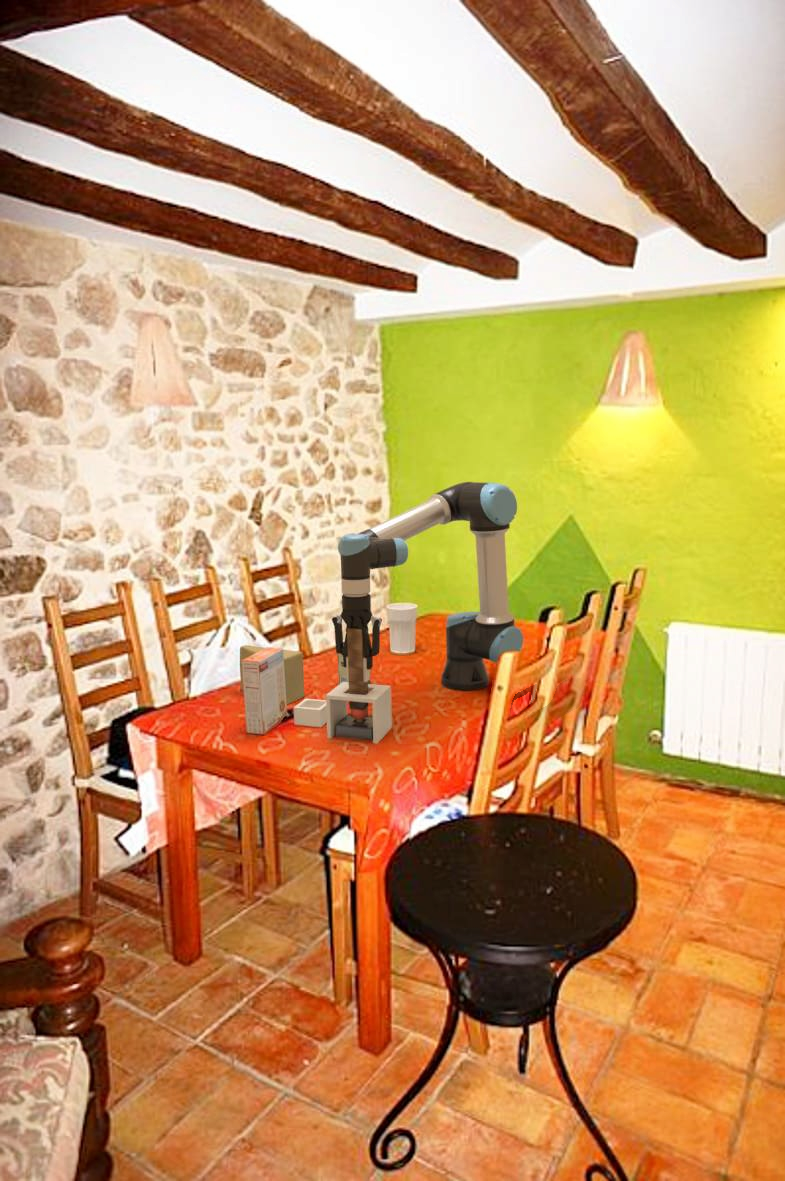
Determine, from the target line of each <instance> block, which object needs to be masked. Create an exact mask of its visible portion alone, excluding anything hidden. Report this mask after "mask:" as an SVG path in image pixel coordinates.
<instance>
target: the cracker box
mask: <svg viewBox="0 0 785 1181" xmlns="http://www.w3.org/2000/svg"><path fill="white" fill-rule="evenodd" d="M263 648H264V649H262V650H260V651H258V652H257V653H255V654H253V655H251V656H249V657H247V658H245V659H244V660H242V661H241V663H242V676H243V689H244V691H243V698H244V699H243V700H244V701H243V702H244V715H245V716H244V717H245V729H246V734H251V735H252V734H253V735H261V736H265V735H267V733H269V732H271V731H272V730H273V729H274V728H276V727H277V726H278V725H280V724H281V723H282V722H283V721H282V720H283V718H284V717H285V716H286V715H287V716H288V707H287V705H288V704H286V688H285V671H284V655H283V650H284V648H281V647H270V646H267V647H263ZM281 721H282V722H281Z"/></svg>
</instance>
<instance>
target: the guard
mask: <svg viewBox="0 0 785 1181" xmlns="http://www.w3.org/2000/svg"><path fill="white" fill-rule="evenodd" d="M325 700H326V712H327V722H326V734H327V739H332V738H334V737H335V735H337V734H336V724H337V723H338V722H340V721H341V720H342V719H343V718H344V717H345V716H346V715H347V714H348V702H349V701H356V702H367V703H369V704H372V716H373V740H372V743H373V744H377V745H378V743H379V742H380V741H381V740H382V739H383V738H384V737H385V736H386V734H388V733H389V732H390V730H391V729H392V723H393V721H392V720H393V719H392V685H385V684H384V685H383V684H373V683H370V684H368V694H367V695H359V694H349V682H342V683H341V684H339V683H338V685H337V686H335V688H333V689H332V690H331V691H329V692H328V693H327V694H325Z"/></svg>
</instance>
